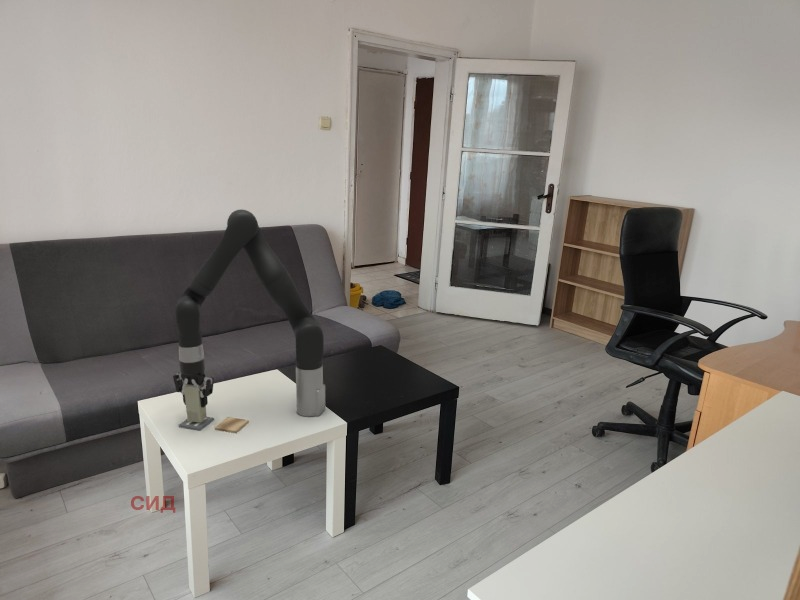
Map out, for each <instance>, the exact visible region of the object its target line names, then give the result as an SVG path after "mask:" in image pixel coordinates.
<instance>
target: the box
mask: <svg viewBox="0 0 800 600" xmlns="http://www.w3.org/2000/svg"><path fill="white" fill-rule="evenodd" d="M202 385H203V384H202ZM202 385H200V386H199V387H200V388H201V387H202ZM184 393H185V403H186V405H185V409H186V410H185V411H186V419H187V421H191V422H202V421H203V420H204V419H205V418H206V416H207V415H208V414H207V405H206V406H205V407H204V408H203V407H201V402H200V397H201V396H200V394H199V391H198V387H196V386H194V385H189V384H188V385H184ZM207 417H208V416H207Z"/></svg>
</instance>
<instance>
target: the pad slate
mask: <svg viewBox="0 0 800 600" xmlns="http://www.w3.org/2000/svg"><path fill="white" fill-rule="evenodd" d="M214 420H215V417H213V416H206V418H205V419H204V420H203V421H202V422H191V421H187V418H186V419H185V420H183V421H181V422H180V423H179V424H178V428H180V429H181V428H182V429H188V430H193V431H198V432H199V431H202V430H203V429H204V428H205V427H207V426H208V425H210V424H211V423H212V422H213V421H214Z"/></svg>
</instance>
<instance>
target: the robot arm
mask: <svg viewBox="0 0 800 600" xmlns="http://www.w3.org/2000/svg"><path fill="white" fill-rule="evenodd" d="M226 224H227V225H226V228H225V230H224V233H223V235H222V238H221V239H220V241H219V242H218V245H217V246H216V247H215V248H214V250H213V251H212V253H211V254H210V255H209V257H208V258H207V259H206V260H205V261H204V263H203V264H202V265H201V267H200V268H199V269H198V271H197V272H196V274H195V275H194V277H193V279H192V280H191V283H190V284H189V285H188V286H187V287H186V289H185V290H184V291H183V292H182V294H180V297H179V298H178V300H177V302H176V305H175V311H174V312H175V319H176V324H177V325H176V326H177V336H178V337H177V338H178V339H177V340H178V358H179V370H180V371H179V372H177V373H175V374H174V375H172V379H173V381H174V386H175V390H176V392H177V393H180V394H181V395H182V400H183V404H184V405H185V406H186V403H185V393H184V385H188V384H189V385H194V386H196V387H198V391H199V394H200V396H201V397H200V402H201V407H203V408H204V407H205V406H206V407H207V405H208V403H209V402H208V397H209V396H211V395H212V394H213V390H214V381H215V378H214V377H212V376H210V377H209V376H208V377H207V376H206V374H205V369H206V365H205V364H206V363H205V353H204V346H203V335H202V330H201V322H200V321H201V318H200V316H201V315H200V309H201V307H202V305H203V303H204V302H205V301H206V299H207V297H209V296H210V295H212V293H213V292H214V290H215V289H216V288H217V286H218V284H219V283H220V281H221V280H222V279H223V277H224V275H225V273H226V272H227V270H228V268H229V267H230V265H231V264H232V262H233V261H234V259H235V258H236V257H237V255H238V254H239V252H241V250H242V249H243V250H244V251H245V252H246V255H247V256H248V259H249V261H250V263H251V265H252V267H253V269H254V272H255V274H256V276H257V277H258V280H259V282H260V283H261V285H262V286H263V288H264V290H265V291H266V293H267V294H268V295H269V297H270V299H271V300H272V301H273V302H274V304H275V305H276V306H277V307H278V308H279V309H280V310H282V312H283V314H284V315H285V317H286V319H287V320H288V322H289V324H290V326H291V328H292V331H293V334H294V338H295V391H296V392H295V393H296V395H295V396H296V413H297V414H298V415H300V416H302V417H315V416H316V417H320V416H321V414H322V413H323V412H324V411H325V410H326V384H324V378H323V377H324V376H323V374H324V371H323V370H324V369H323V367H324V353H325V352H324V344H325V343H324V332H323V330H322V327H321V325H320V323H319V322H318V321H317V319H316V318H315V317H314V315H312V313H311V312H310V311H309V309H308V308H307V306H306V305H305V303H304V302H303V299H302V297H301V295H300V292H299V290H298V288H297V286H296V284H295V282H294V280H293V278H292V277H291V275H290V273H289V272H288V270H287V268H286V267H285V265H284V264H283V262H282V260H280V258H279V257H278V256H277V254H276V253H275V252H274V250H273V249H272V248H271V246H270V245H269V243H268V242H267V240H266V238H265V236H264V234H263V233H262V230H261V228H260V226H259V223H258V220H257V218H256V216H255V215H254V214H253V213H252V212H251V211H249V210H246V209H243V208H242V209H236V210H234V211H233V212H231V213H230V215H228V218H227V221H226ZM202 384H203V385H202ZM200 385H202V387H201V388H200V387H199V386H200Z"/></svg>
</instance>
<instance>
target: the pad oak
mask: <svg viewBox="0 0 800 600" xmlns="http://www.w3.org/2000/svg"><path fill="white" fill-rule="evenodd" d="M249 423H250V420H249V419H244V418H237V417H231V416H226V417H225V418H224V419H223V420H222V421H221V422H219V423H218V424H216V426H214V427H213V428H214V431H220V432H224V431H225V432H226V433H230V432H231V434H238V433H240V431H242V429H243V428H244V427H246V426H247V425H248V424H249ZM246 424H247V425H246ZM237 432H238V433H237Z"/></svg>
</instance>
